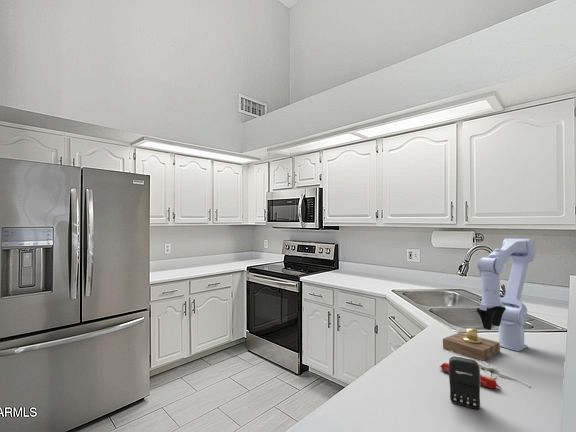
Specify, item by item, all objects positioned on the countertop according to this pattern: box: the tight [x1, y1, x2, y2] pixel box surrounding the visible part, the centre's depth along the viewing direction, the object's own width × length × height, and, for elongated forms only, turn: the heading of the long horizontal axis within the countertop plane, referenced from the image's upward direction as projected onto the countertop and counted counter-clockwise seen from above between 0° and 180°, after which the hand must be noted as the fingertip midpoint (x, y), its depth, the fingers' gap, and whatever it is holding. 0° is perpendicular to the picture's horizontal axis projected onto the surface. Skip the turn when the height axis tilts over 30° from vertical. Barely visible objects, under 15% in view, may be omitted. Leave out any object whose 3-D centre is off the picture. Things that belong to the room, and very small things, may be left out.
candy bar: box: [439, 362, 499, 389], centre depth 90 cm, size 16×4×3 cm, turn 36°
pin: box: [463, 327, 481, 344], centre depth 113 cm, size 6×6×7 cm
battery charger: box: [448, 355, 481, 410], centre depth 76 cm, size 7×4×11 cm, turn 58°
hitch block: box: [442, 331, 501, 362], centre depth 113 cm, size 14×14×4 cm
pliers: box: [477, 360, 532, 389], centre depth 92 cm, size 10×2×15 cm
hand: (491, 327), depth 110 cm, fingers open, 7 cm apart
